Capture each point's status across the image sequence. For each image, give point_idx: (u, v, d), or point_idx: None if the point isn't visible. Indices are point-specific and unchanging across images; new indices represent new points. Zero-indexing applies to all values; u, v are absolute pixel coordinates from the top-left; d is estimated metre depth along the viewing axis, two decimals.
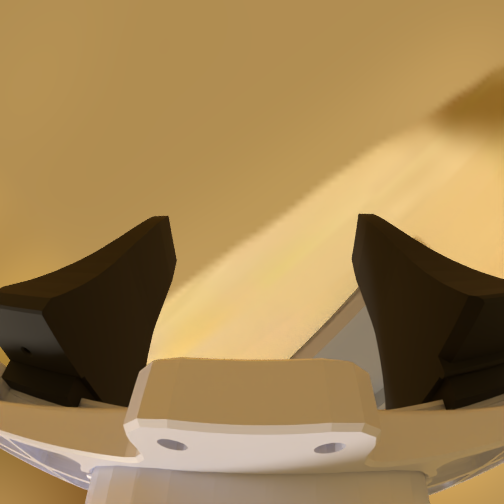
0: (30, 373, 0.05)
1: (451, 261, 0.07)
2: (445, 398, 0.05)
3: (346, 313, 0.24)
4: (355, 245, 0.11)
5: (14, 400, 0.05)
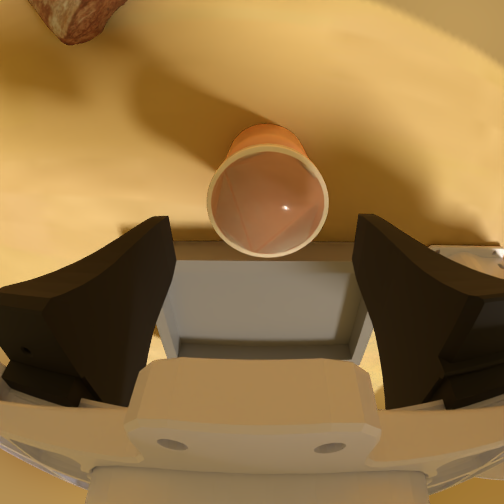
0: (30, 373, 0.05)
1: (451, 261, 0.07)
2: (445, 398, 0.05)
3: None
4: (355, 245, 0.11)
5: (14, 400, 0.05)
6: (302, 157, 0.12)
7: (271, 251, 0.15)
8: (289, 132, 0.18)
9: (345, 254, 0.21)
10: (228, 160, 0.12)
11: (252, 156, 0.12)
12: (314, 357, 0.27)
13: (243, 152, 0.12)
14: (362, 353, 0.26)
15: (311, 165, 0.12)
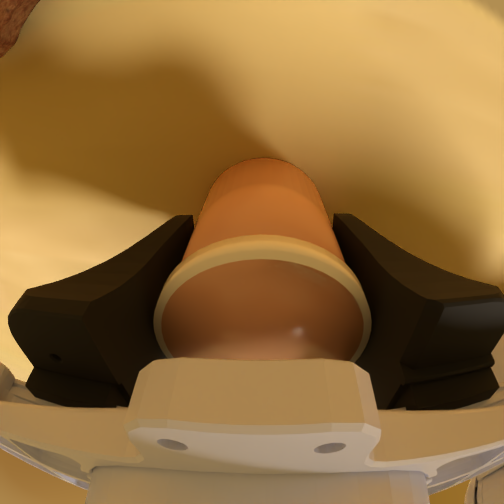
0: (58, 381, 0.05)
1: (422, 262, 0.07)
2: (407, 406, 0.05)
3: None
4: None
5: (14, 400, 0.05)
6: (332, 269, 0.06)
7: None
8: (299, 173, 0.11)
9: None
10: (182, 275, 0.06)
11: (228, 267, 0.06)
12: None
13: (209, 260, 0.06)
14: None
15: (348, 280, 0.06)
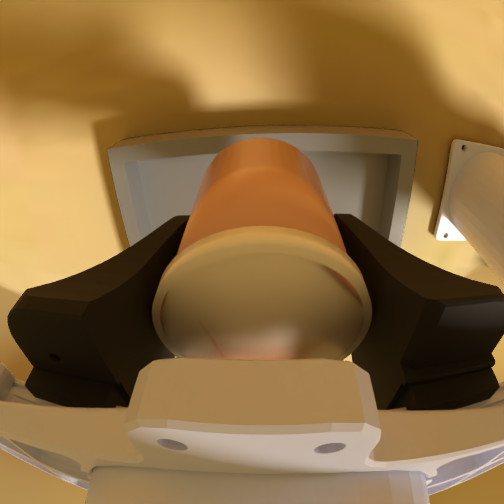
0: (58, 381, 0.05)
1: (422, 262, 0.07)
2: (408, 406, 0.05)
3: None
4: None
5: (14, 400, 0.05)
6: (333, 261, 0.06)
7: None
8: (297, 154, 0.11)
9: (358, 132, 0.16)
10: (180, 268, 0.06)
11: (227, 261, 0.06)
12: None
13: (208, 254, 0.06)
14: None
15: (349, 273, 0.06)
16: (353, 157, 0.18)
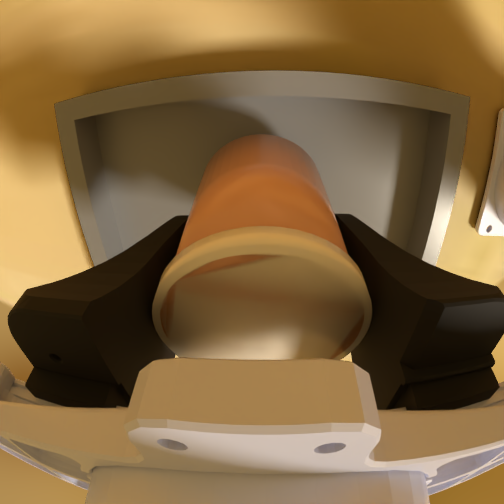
0: (58, 381, 0.05)
1: (422, 262, 0.07)
2: (408, 406, 0.05)
3: None
4: None
5: (14, 400, 0.05)
6: (334, 262, 0.06)
7: None
8: (298, 150, 0.11)
9: None
10: (180, 269, 0.06)
11: (228, 261, 0.06)
12: None
13: (208, 255, 0.06)
14: None
15: (350, 273, 0.06)
16: (385, 117, 0.12)
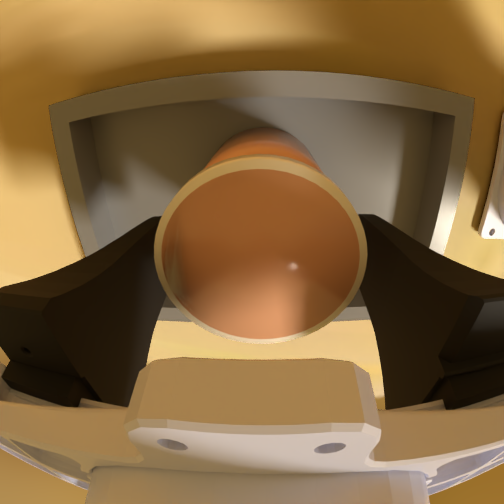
0: (30, 373, 0.05)
1: (451, 261, 0.07)
2: (445, 398, 0.05)
3: None
4: None
5: (14, 400, 0.05)
6: (323, 179, 0.06)
7: (268, 335, 0.09)
8: (295, 139, 0.12)
9: None
10: (185, 189, 0.07)
11: (228, 179, 0.07)
12: None
13: (210, 172, 0.07)
14: None
15: (339, 194, 0.07)
16: (388, 118, 0.12)
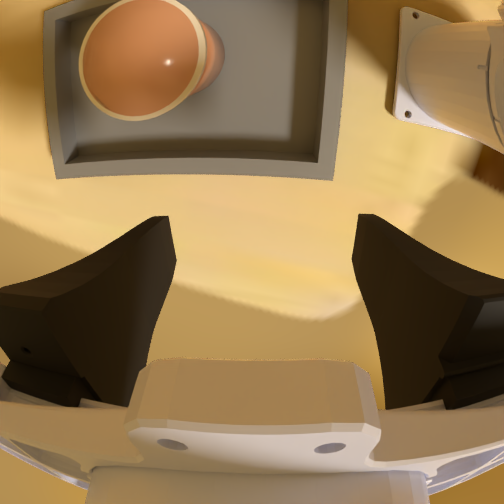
0: (30, 373, 0.05)
1: (451, 261, 0.07)
2: (445, 398, 0.05)
3: None
4: (355, 245, 0.11)
5: (14, 400, 0.05)
6: None
7: (144, 111, 0.11)
8: None
9: None
10: (98, 18, 0.08)
11: (120, 8, 0.08)
12: (256, 156, 0.17)
13: (111, 7, 0.08)
14: (334, 151, 0.16)
15: (180, 4, 0.08)
16: (281, 8, 0.13)
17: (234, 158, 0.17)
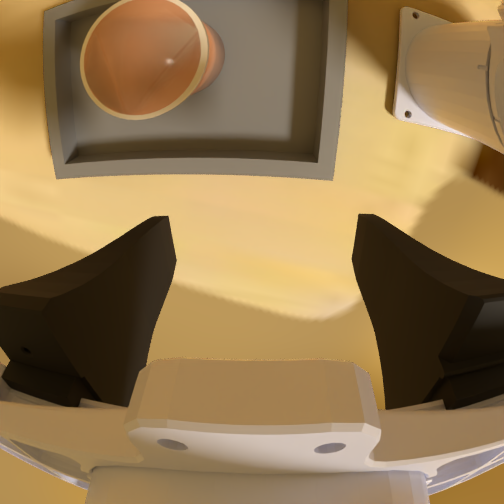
0: (30, 373, 0.05)
1: (451, 261, 0.07)
2: (445, 398, 0.05)
3: None
4: (355, 245, 0.11)
5: (14, 400, 0.05)
6: None
7: (147, 110, 0.11)
8: None
9: None
10: (99, 18, 0.08)
11: (120, 8, 0.08)
12: (256, 156, 0.17)
13: (112, 6, 0.08)
14: (334, 151, 0.16)
15: (181, 3, 0.08)
16: (281, 8, 0.13)
17: (234, 158, 0.17)
